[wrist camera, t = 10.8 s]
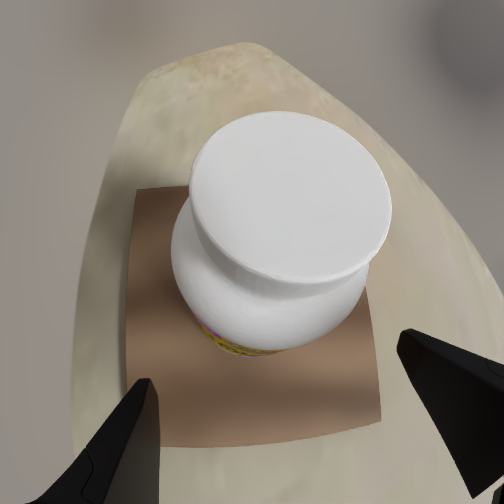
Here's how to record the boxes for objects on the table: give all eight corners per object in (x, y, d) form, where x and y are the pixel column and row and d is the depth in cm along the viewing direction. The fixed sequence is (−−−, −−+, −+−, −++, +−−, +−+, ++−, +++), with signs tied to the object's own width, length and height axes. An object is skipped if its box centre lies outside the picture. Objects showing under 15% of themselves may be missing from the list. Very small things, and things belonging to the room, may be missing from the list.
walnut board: (374, 419, 16) (381, 421, 15) (136, 440, 15) (132, 443, 14) (337, 190, 23) (341, 184, 22) (140, 196, 22) (136, 189, 21)
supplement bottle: (176, 316, 17) (81, 204, 5) (238, 237, 20) (254, 64, 8) (265, 380, 16) (355, 402, 4) (322, 293, 19) (445, 173, 7)
